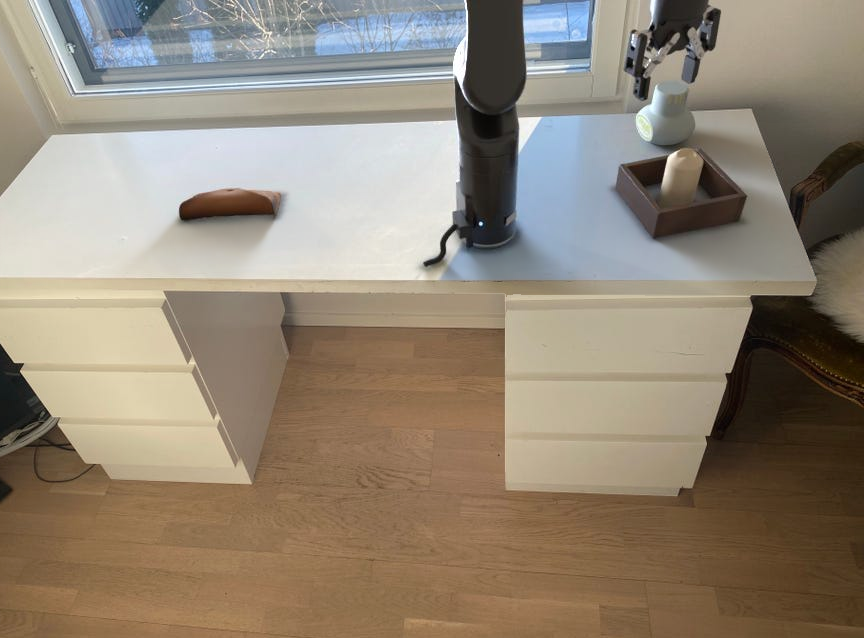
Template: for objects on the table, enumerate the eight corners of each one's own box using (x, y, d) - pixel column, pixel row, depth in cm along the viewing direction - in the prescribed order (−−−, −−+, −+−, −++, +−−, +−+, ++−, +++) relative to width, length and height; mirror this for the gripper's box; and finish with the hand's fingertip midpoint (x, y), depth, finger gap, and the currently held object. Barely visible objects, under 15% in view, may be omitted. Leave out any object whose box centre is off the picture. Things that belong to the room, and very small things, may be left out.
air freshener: (629, 127, 141) (637, 78, 134) (669, 120, 142) (679, 70, 134) (653, 156, 134) (664, 105, 126) (696, 147, 134) (708, 97, 127)
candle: (693, 214, 121) (707, 162, 113) (658, 213, 122) (670, 161, 115) (690, 195, 124) (703, 143, 117) (657, 194, 125) (668, 143, 118)
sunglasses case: (282, 190, 137) (273, 174, 130) (281, 224, 135) (272, 210, 129) (190, 196, 139) (177, 180, 132) (189, 230, 137) (175, 216, 131)
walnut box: (652, 238, 118) (658, 213, 114) (615, 189, 128) (619, 164, 124) (739, 220, 118) (747, 195, 115) (695, 173, 129) (701, 148, 125)
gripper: (707, -46, 100) (685, 67, 112) (621, -19, 97) (608, 94, 109) (747, -32, 95) (720, 85, 107) (658, -2, 92) (640, 114, 104)
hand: (664, 90), depth 108 cm, fingers open, 8 cm apart
